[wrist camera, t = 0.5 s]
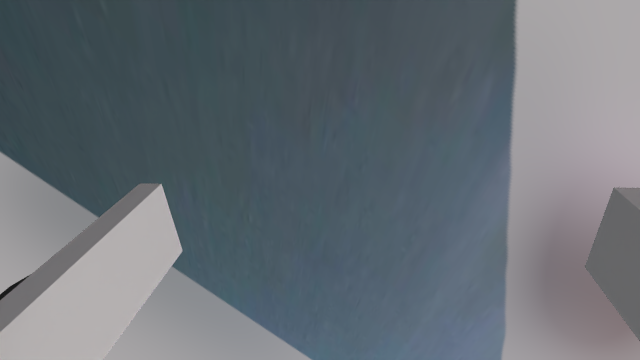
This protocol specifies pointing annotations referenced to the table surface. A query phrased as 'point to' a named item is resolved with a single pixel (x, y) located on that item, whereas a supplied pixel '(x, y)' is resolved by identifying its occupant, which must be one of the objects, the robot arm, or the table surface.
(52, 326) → the robot arm
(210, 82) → the table surface
